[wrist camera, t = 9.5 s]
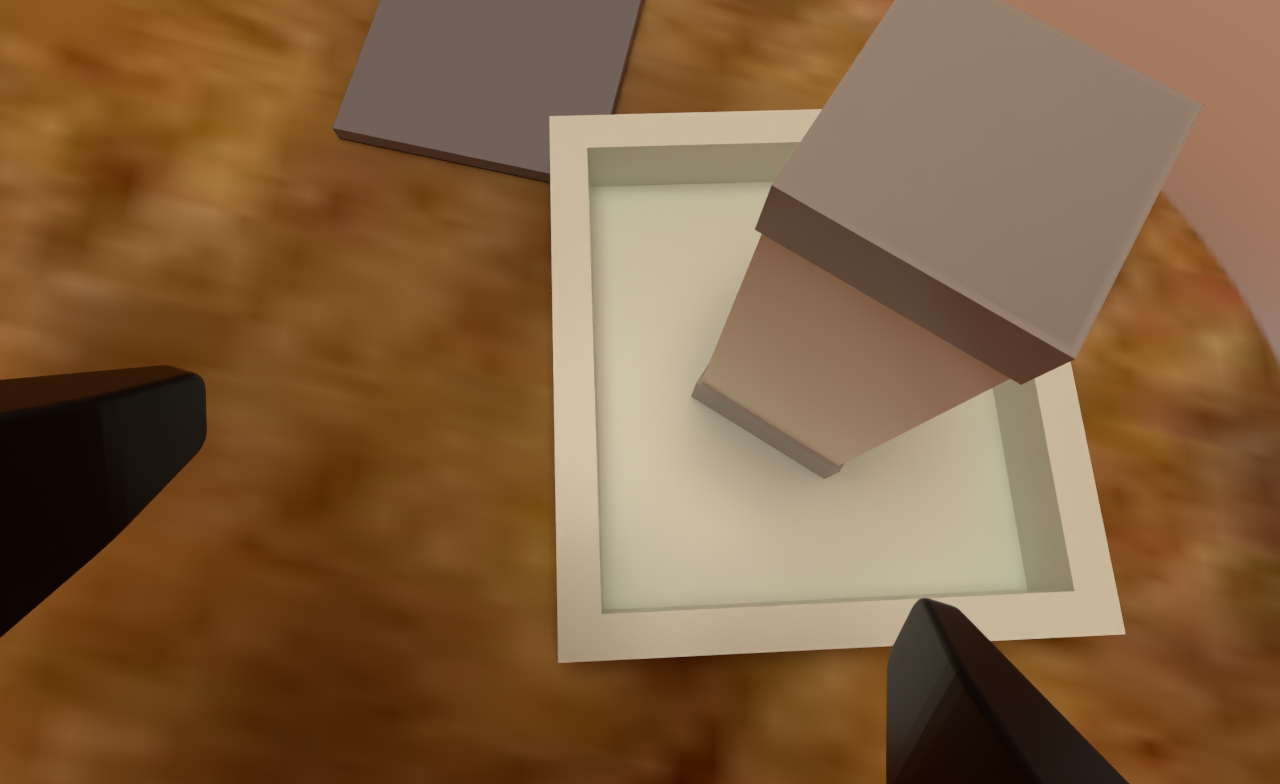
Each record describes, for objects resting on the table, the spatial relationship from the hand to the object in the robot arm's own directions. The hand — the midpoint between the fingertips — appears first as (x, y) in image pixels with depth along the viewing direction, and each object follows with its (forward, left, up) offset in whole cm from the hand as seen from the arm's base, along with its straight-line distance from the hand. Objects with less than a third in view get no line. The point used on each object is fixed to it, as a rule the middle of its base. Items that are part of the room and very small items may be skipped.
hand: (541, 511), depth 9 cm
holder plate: (+16, +2, -11) cm, 20 cm away
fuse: (+4, -6, -10) cm, 13 cm away
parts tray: (+4, -6, -11) cm, 13 cm away
